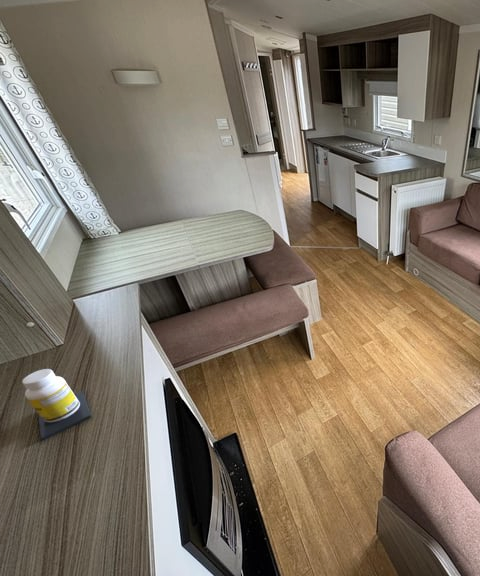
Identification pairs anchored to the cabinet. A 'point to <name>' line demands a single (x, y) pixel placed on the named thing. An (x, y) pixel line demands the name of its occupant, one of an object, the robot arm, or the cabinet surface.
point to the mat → (55, 427)
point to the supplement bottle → (50, 395)
